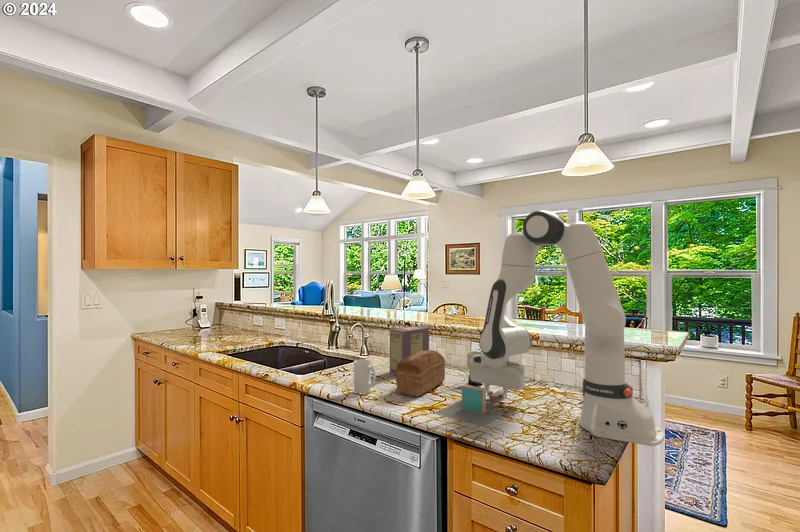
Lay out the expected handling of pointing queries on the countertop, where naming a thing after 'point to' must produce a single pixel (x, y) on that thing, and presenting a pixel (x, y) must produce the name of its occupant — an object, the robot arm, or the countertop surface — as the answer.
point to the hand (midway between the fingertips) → (496, 397)
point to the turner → (494, 399)
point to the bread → (420, 372)
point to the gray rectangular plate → (469, 414)
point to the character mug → (469, 362)
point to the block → (474, 399)
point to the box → (407, 343)
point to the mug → (363, 376)
